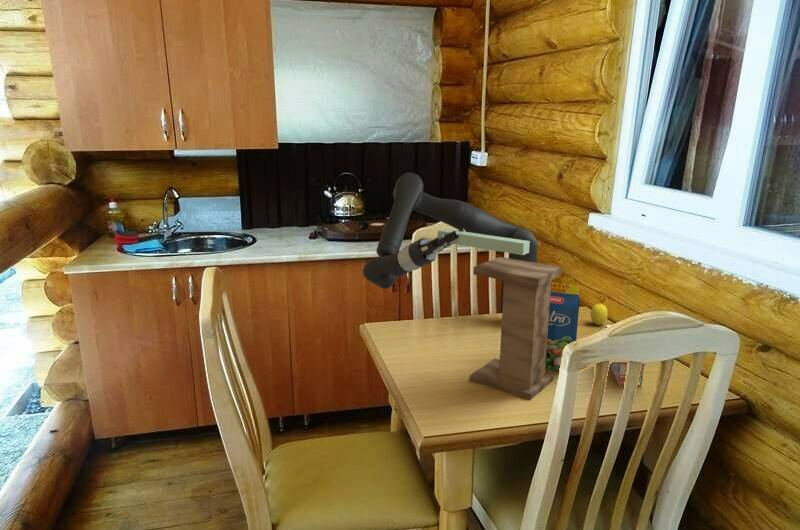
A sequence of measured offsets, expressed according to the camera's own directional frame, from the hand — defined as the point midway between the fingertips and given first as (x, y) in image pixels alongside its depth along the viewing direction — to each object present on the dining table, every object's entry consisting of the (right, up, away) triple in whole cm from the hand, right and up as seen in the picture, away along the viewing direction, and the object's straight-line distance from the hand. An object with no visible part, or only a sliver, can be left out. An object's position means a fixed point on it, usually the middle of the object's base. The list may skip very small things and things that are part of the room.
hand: (460, 232), depth 154 cm
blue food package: (+27, -38, +8) cm, 48 cm away
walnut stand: (+14, -40, -1) cm, 43 cm away
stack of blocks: (+47, -39, +7) cm, 61 cm away
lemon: (+52, -30, +41) cm, 72 cm away
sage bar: (+5, -4, -3) cm, 7 cm away
